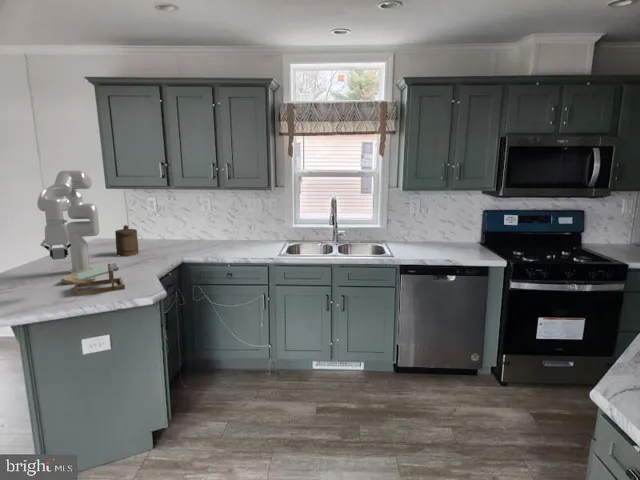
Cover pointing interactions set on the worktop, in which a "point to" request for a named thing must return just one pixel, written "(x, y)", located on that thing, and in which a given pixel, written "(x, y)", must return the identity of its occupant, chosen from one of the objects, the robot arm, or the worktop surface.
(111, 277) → the frame
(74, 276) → the rock
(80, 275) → the trapdoor
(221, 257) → the worktop surface
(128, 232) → the wooden container
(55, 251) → the block
